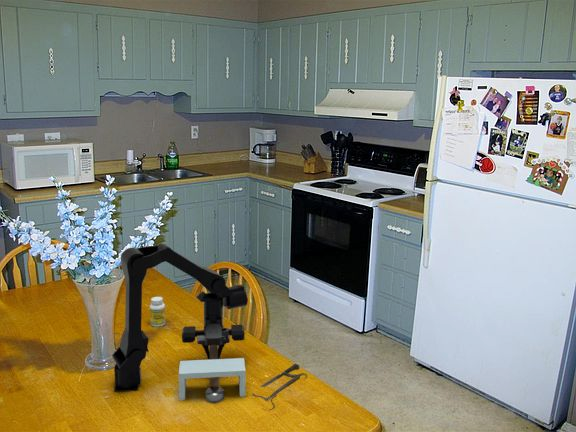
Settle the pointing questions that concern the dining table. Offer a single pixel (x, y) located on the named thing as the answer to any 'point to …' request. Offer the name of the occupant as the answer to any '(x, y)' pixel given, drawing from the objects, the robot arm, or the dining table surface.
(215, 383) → the walnut batten
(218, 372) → the plinth bridge
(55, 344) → the dining table surface
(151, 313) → the supplement bottle
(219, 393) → the steel puck
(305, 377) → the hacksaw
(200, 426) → the dining table surface
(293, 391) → the dining table surface
